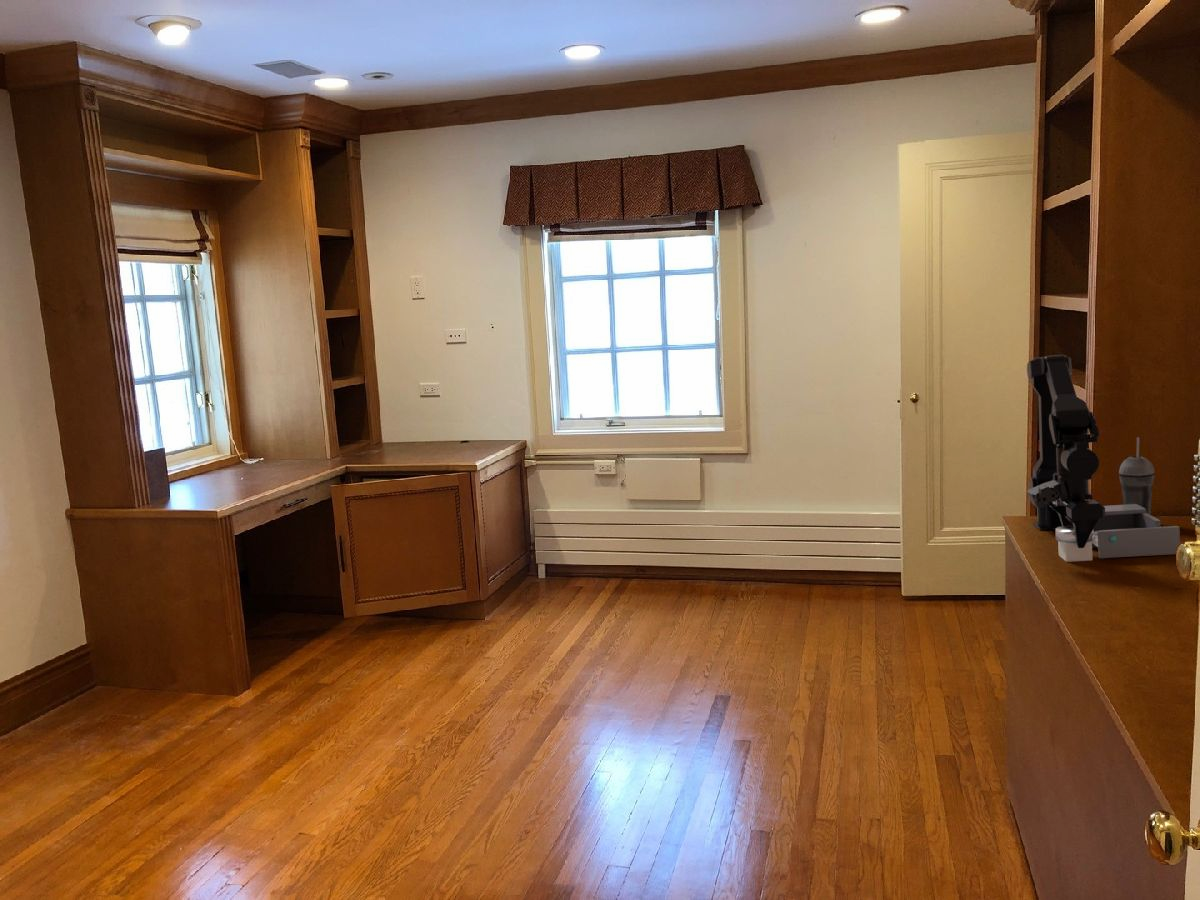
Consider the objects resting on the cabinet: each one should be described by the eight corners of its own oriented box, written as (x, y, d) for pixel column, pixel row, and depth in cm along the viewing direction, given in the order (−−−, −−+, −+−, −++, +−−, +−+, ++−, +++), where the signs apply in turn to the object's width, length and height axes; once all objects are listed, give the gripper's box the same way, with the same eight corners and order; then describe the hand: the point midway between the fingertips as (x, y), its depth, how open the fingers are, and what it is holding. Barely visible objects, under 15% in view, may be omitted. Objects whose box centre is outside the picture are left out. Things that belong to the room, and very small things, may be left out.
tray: (1078, 542, 211) (1078, 517, 210) (1153, 538, 208) (1153, 512, 208) (1100, 558, 198) (1100, 532, 197) (1181, 554, 195) (1180, 527, 194)
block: (1058, 555, 204) (1058, 536, 203) (1084, 553, 203) (1083, 535, 202) (1066, 561, 199) (1065, 542, 198) (1092, 560, 198) (1091, 541, 198)
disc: (1051, 535, 204) (1051, 526, 204) (1087, 533, 203) (1086, 524, 203) (1061, 544, 198) (1061, 534, 197) (1098, 542, 196) (1098, 532, 196)
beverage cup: (1147, 519, 225) (1145, 433, 222) (1162, 526, 218) (1160, 437, 215) (1114, 521, 226) (1111, 436, 223) (1127, 528, 219) (1125, 440, 216)
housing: (1065, 533, 220) (1064, 508, 219) (1136, 529, 217) (1136, 503, 217) (1084, 548, 207) (1083, 521, 206) (1160, 543, 205) (1160, 516, 204)
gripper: (1018, 463, 209) (1021, 535, 211) (1044, 479, 191) (1046, 557, 193) (1073, 460, 207) (1075, 531, 209) (1105, 475, 189) (1107, 554, 191)
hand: (1074, 543), depth 201 cm, fingers closed on disc, 7 cm apart
